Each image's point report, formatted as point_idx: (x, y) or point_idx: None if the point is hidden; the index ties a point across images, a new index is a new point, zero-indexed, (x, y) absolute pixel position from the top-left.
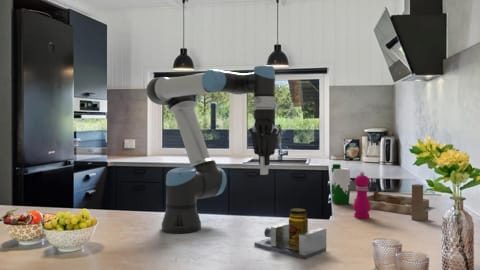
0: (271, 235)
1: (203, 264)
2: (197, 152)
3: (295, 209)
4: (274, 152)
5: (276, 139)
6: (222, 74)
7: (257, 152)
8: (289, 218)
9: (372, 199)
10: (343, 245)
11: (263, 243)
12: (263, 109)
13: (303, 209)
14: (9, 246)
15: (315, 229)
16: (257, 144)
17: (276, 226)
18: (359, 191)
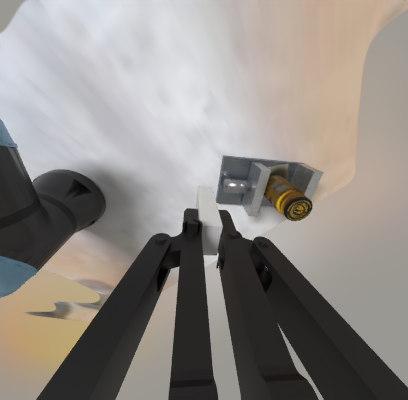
0: (245, 209)
1: (209, 261)
2: None
3: (293, 208)
4: (274, 245)
5: (360, 345)
6: None
7: (170, 264)
8: (279, 211)
9: None
10: (322, 121)
11: (227, 199)
12: None
13: (307, 203)
14: (50, 315)
15: (308, 187)
16: (148, 305)
17: (254, 210)
18: None
